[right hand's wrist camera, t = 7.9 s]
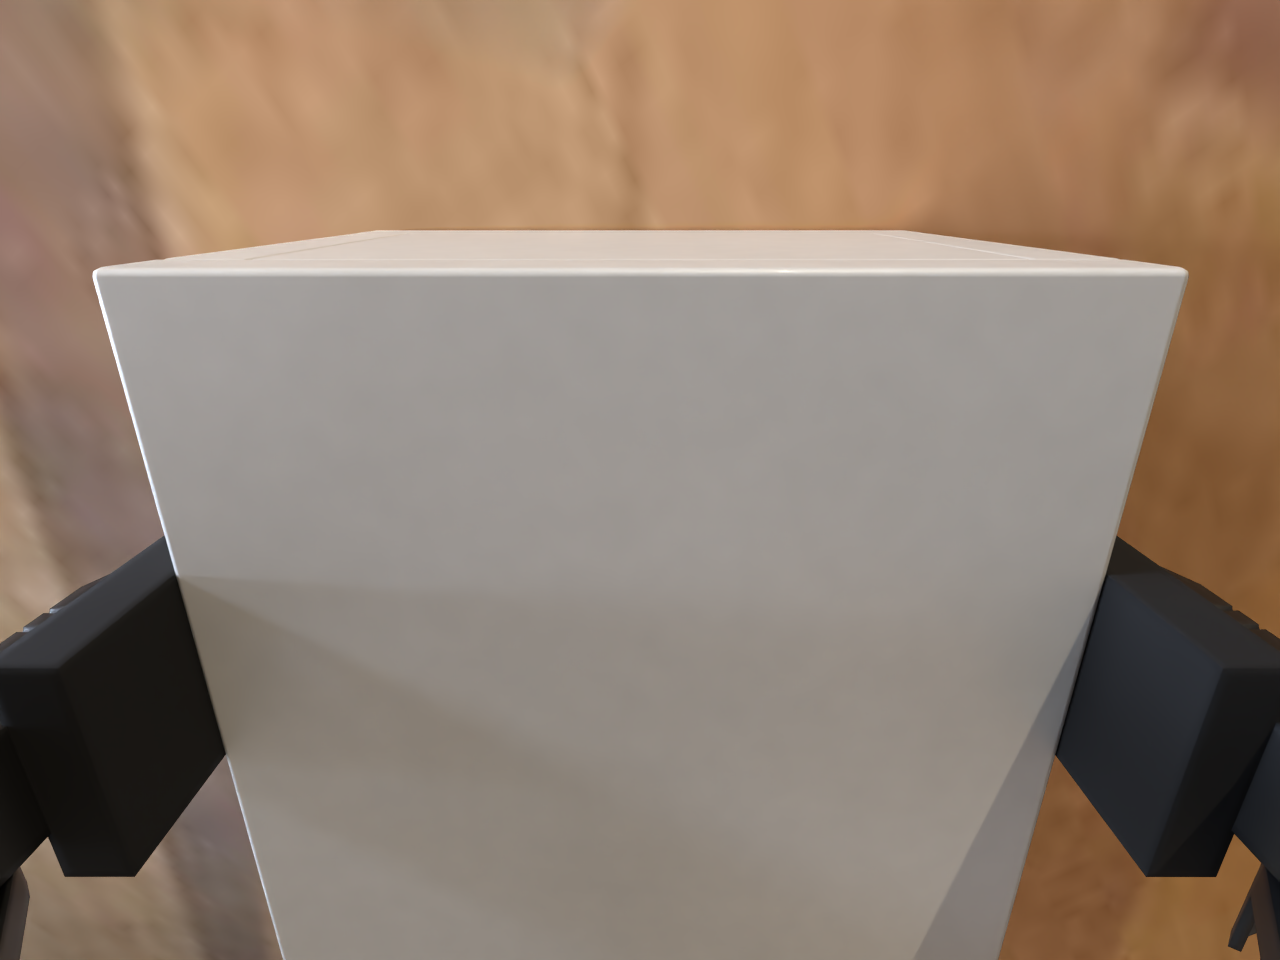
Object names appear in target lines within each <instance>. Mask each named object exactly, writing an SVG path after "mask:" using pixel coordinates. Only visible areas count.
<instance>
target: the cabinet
mask: <svg viewBox="0 0 1280 960" xmlns="http://www.w3.org/2000/svg"><path fill="white" fill-rule="evenodd" d="M1188 278H1189V276H1188V271H1187V270H1185V269H1183V268H1181V267H1176V266H1169V265H1161V264H1154V263H1146V262H1138V261H1131V260H1119V259H1117V258H1110V257H1102V256H1094V255H1087V254H1079V253H1072V252H1064V251H1056V250H1049V249H1041V248H1034V247H1026V246H1018V245H1011V244H1003V243H996V242H988V241H980V240H973V239H965V238H957V237H950V236H942V235H935V234H927V233H920V232H913V231H905V230H377V231H370V232H362V233H356V234H349V235H341V236H333V237H326V238H318V239H311V240H303V241H296V242H288V243H281V244H273V245H265V246H258V247H250V248H243V249H235V250H228V251H220V252H212V253H205V254H197V255H190V256H182V257H175V258H167V259H165V260H152V261H144V262H137V263H129V264H122V265H114V266H107V267H101V268H99V269H96V270H95V271H94V272H93V280H94V284H95V287H96V291H97V294H98V298H99V301H100V305H101V309H102V312H103V316H104V319H105V323H106V326H107V330H108V334H109V337H110V341H111V344H112V348H113V352H114V355H115V359H116V362H117V366H118V369H119V373H120V377H121V380H122V384H123V387H124V391H125V395H126V398H127V402H128V405H129V409H130V412H131V416H132V420H133V423H134V427H135V430H136V434H137V438H138V441H139V445H140V448H141V452H142V455H143V459H144V463H145V466H146V470H147V473H148V477H149V481H150V484H151V488H152V491H153V495H154V498H155V502H156V506H157V509H158V513H159V516H160V520H161V524H162V527H163V531H164V534H165V538H166V541H167V545H168V549H169V552H170V556H171V559H172V563H173V567H174V570H175V574H176V577H177V581H178V584H179V588H180V592H181V595H182V599H183V602H184V606H185V610H186V613H187V617H188V620H189V624H190V627H191V631H192V635H193V638H194V642H195V645H196V649H197V653H198V656H199V660H200V663H201V667H202V670H203V674H204V678H205V681H206V685H207V688H208V692H209V695H210V699H211V703H212V706H213V710H214V713H215V717H216V721H217V724H218V728H219V731H220V735H221V738H222V742H223V746H224V749H225V753H226V756H227V760H228V764H229V767H230V771H231V774H232V778H233V781H234V785H235V789H236V792H237V796H238V799H239V803H240V807H241V810H242V814H243V817H244V821H245V824H246V828H247V832H248V835H249V839H250V842H251V846H252V850H253V853H254V857H255V860H256V864H257V867H258V871H259V875H260V878H261V882H262V885H263V889H264V893H265V896H266V900H267V903H268V907H269V910H270V914H271V918H272V921H273V925H274V928H275V932H276V936H277V939H278V943H279V946H280V950H281V953H282V957H283V960H998V958H999V954H1000V951H1001V947H1002V943H1003V940H1004V936H1005V933H1006V929H1007V926H1008V922H1009V918H1010V915H1011V911H1012V908H1013V904H1014V901H1015V897H1016V893H1017V890H1018V886H1019V883H1020V879H1021V875H1022V872H1023V868H1024V865H1025V861H1026V858H1027V854H1028V850H1029V847H1030V843H1031V840H1032V836H1033V833H1034V829H1035V825H1036V822H1037V818H1038V815H1039V811H1040V807H1041V804H1042V800H1043V797H1044V793H1045V790H1046V786H1047V782H1048V779H1049V775H1050V772H1051V768H1052V764H1053V761H1054V757H1055V754H1056V750H1057V747H1058V743H1059V739H1060V736H1061V732H1062V729H1063V725H1064V722H1065V718H1066V714H1067V711H1068V707H1069V704H1070V700H1071V696H1072V693H1073V689H1074V686H1075V682H1076V679H1077V675H1078V671H1079V668H1080V664H1081V661H1082V657H1083V653H1084V650H1085V646H1086V643H1087V639H1088V636H1089V632H1090V628H1091V625H1092V621H1093V618H1094V614H1095V611H1096V607H1097V603H1098V600H1099V596H1100V593H1101V589H1102V585H1103V582H1104V578H1105V575H1106V571H1107V568H1108V564H1109V560H1110V557H1111V553H1112V550H1113V546H1114V543H1115V539H1116V535H1117V532H1118V528H1119V525H1120V521H1121V517H1122V514H1123V510H1124V507H1125V503H1126V500H1127V496H1128V492H1129V489H1130V485H1131V482H1132V478H1133V474H1134V471H1135V467H1136V464H1137V460H1138V457H1139V453H1140V449H1141V446H1142V442H1143V439H1144V435H1145V432H1146V428H1147V424H1148V421H1149V417H1150V414H1151V410H1152V406H1153V403H1154V399H1155V396H1156V392H1157V389H1158V385H1159V381H1160V378H1161V374H1162V371H1163V367H1164V364H1165V360H1166V356H1167V353H1168V349H1169V346H1170V342H1171V338H1172V335H1173V331H1174V328H1175V324H1176V321H1177V317H1178V313H1179V310H1180V306H1181V303H1182V299H1183V295H1184V292H1185V288H1186V285H1187V281H1188Z"/></svg>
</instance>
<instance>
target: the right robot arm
mask: <svg viewBox="0 0 1280 960" xmlns="http://www.w3.org/2000/svg"><path fill="white" fill-rule="evenodd" d="M23 629H24V630H23V632H16V633H15V634H13V635H12V636H10V637H9V638H7V639H6V640H4V641H3V642H2V643H0V960H20V954H21V948H22V942H23V935H24V929H25V923H26V917H27V911H28V905H29V898H30V895H29V890H28V885H27V881H26V879H25V877H24V874H23V872H22V870H21V868H20V866H21V865H22V864H23V863H24V862H25V860H26V859H27V858H28V857H29V856H30V855H31V854H32V853H33V852H34V851H35V850H36V849H37V848H38V846H39V845H40V844H41V843H42V842H43V841H44V840H45V839H46V838H47V837H49V840H50V842H51V845H52V847H53V849H54V852H55V854H56V856H57V859H58V861H59V864H60V866H61V868H62V871H63V873H64V876H65V877H135V876H136V874H137V873H138V872H139V870H140V869H141V868H142V866H143V865H144V864H145V862H146V861H147V859H148V858H149V857H150V855H151V854H152V853H153V851H154V850H155V849H156V847H157V846H158V845H159V843H160V842H161V841H162V839H163V838H164V837H165V835H166V834H167V833H168V831H169V830H170V829H171V827H172V826H173V825H174V823H175V822H176V820H177V819H178V818H179V816H180V815H181V814H182V812H183V811H184V810H185V808H186V807H187V806H188V804H189V803H190V802H191V800H192V799H193V798H194V796H195V795H196V794H197V792H198V791H199V790H200V788H201V787H202V786H203V784H204V783H205V781H206V780H207V779H208V777H209V776H210V775H211V773H212V772H213V771H214V769H215V768H216V767H217V765H218V764H219V763H220V761H221V760H222V759H223V757H224V756H225V755H226V753H225V749H224V746H223V742H222V738H221V735H220V731H219V728H218V724H217V721H216V717H215V713H214V710H213V706H212V703H211V699H210V695H209V692H208V688H207V685H206V681H205V678H204V674H203V670H202V667H201V663H200V660H199V656H198V653H197V649H196V645H195V642H194V638H193V635H192V631H191V627H190V624H189V620H188V617H187V613H186V610H185V606H184V602H183V599H182V595H181V592H180V588H179V584H178V581H177V577H176V574H175V570H174V567H173V563H172V559H171V556H170V552H169V549H168V545H167V541H166V538H165V535H164V536H163V537H162V538H160V539H159V540H157V541H156V542H155V543H153V544H152V545H150V546H149V547H148V548H146V549H145V550H143V551H142V552H141V553H139V554H138V555H136V556H135V557H134V558H132V559H131V560H129V561H128V562H127V563H125V564H124V565H122V566H121V567H119V568H118V569H117V570H115V571H114V572H112V573H111V574H109V575H107V576H105V577H102V578H100V579H98V580H96V581H93V582H91V583H89V584H87V585H85V586H82V587H81V588H79V589H78V590H76V591H75V592H73V593H72V594H70V595H69V596H68V597H66V598H65V599H63V600H62V601H60V602H59V603H58V604H56V605H55V606H53V607H52V608H50V612H49V613H43V614H42V615H40V616H39V617H37V618H36V619H35V620H33V621H32V622H30V623H29V624H27V625H26V626H25V627H23ZM1055 755H1056V756H1057V758H1058V759H1059V760H1060V762H1061V763H1062V764H1063V766H1064V767H1065V768H1066V770H1067V771H1068V772H1069V774H1070V775H1071V776H1072V778H1073V779H1074V780H1075V782H1076V783H1077V785H1078V786H1079V787H1080V789H1081V790H1082V791H1083V793H1084V794H1085V795H1086V797H1087V798H1088V799H1089V801H1090V802H1091V803H1092V805H1093V806H1094V807H1095V809H1096V810H1097V811H1098V813H1099V814H1100V815H1101V817H1102V818H1103V819H1104V821H1105V822H1106V823H1107V825H1108V826H1109V828H1110V829H1111V830H1112V832H1113V833H1114V834H1115V836H1116V837H1117V838H1118V840H1119V841H1120V842H1121V844H1122V845H1123V846H1124V848H1125V849H1126V850H1127V852H1128V853H1129V854H1130V856H1131V857H1132V858H1133V860H1134V861H1135V862H1136V864H1137V865H1138V867H1139V868H1140V869H1141V871H1142V872H1143V873H1144V875H1145V876H1146V877H1216V876H1217V873H1218V871H1219V869H1220V866H1221V864H1222V861H1223V859H1224V857H1225V854H1226V852H1227V849H1228V847H1229V845H1230V842H1231V840H1232V838H1233V835H1234V834H1235V835H1236V836H1237V837H1238V838H1239V839H1240V840H1241V841H1242V842H1243V844H1244V845H1245V846H1246V847H1247V848H1248V849H1249V850H1250V851H1251V852H1252V853H1253V854H1254V855H1255V856H1256V857H1257V859H1258V860H1259V861H1260V862H1261V865H1260V868H1259V870H1258V872H1257V874H1256V877H1255V879H1254V881H1253V883H1252V886H1251V888H1250V890H1249V892H1248V894H1247V897H1246V899H1245V901H1244V903H1243V906H1242V908H1241V910H1240V912H1239V915H1238V917H1237V919H1236V921H1235V924H1234V926H1233V928H1232V930H1231V934H1230V939H1229V943H1228V947H1231V948H1233V949H1236V950H1238V951H1240V952H1241V951H1242V949H1243V947H1244V944H1245V942H1246V940H1247V938H1248V936H1250V935H1253V934H1256V933H1257V939H1258V945H1259V951H1260V957H1261V958H1260V960H1280V639H1279V638H1277V637H1276V636H1274V635H1273V634H1272V633H1270V632H1269V631H1267V630H1266V629H1259V624H1257V623H1256V622H1254V621H1253V620H1251V619H1250V618H1248V617H1247V616H1246V615H1244V614H1243V613H1241V612H1240V611H1233V610H1232V606H1231V605H1230V604H1228V603H1227V602H1225V601H1224V600H1222V599H1221V598H1220V597H1218V596H1217V595H1215V594H1214V593H1212V592H1211V591H1209V590H1208V589H1206V588H1205V587H1204V586H1202V585H1201V584H1198V583H1196V582H1194V581H1192V580H1190V579H1187V578H1185V577H1183V576H1181V575H1178V574H1176V573H1174V572H1172V571H1169V570H1167V569H1165V568H1163V567H1160V566H1159V565H1157V564H1156V563H1154V562H1153V561H1152V560H1150V559H1149V558H1147V557H1146V556H1144V555H1143V554H1142V553H1140V552H1139V551H1137V550H1136V549H1135V548H1133V547H1132V546H1130V545H1129V544H1128V543H1126V542H1125V541H1123V540H1122V539H1121V538H1119V537H1118V536H1116V539H1115V543H1114V546H1113V550H1112V553H1111V557H1110V560H1109V564H1108V568H1107V571H1106V575H1105V578H1104V582H1103V585H1102V589H1101V593H1100V596H1099V600H1098V603H1097V607H1096V611H1095V614H1094V618H1093V621H1092V625H1091V628H1090V632H1089V636H1088V639H1087V643H1086V646H1085V650H1084V653H1083V657H1082V661H1081V664H1080V668H1079V671H1078V675H1077V679H1076V682H1075V686H1074V689H1073V693H1072V696H1071V700H1070V704H1069V707H1068V711H1067V714H1066V718H1065V722H1064V725H1063V729H1062V732H1061V736H1060V739H1059V743H1058V747H1057V750H1056V754H1055Z"/></svg>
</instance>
